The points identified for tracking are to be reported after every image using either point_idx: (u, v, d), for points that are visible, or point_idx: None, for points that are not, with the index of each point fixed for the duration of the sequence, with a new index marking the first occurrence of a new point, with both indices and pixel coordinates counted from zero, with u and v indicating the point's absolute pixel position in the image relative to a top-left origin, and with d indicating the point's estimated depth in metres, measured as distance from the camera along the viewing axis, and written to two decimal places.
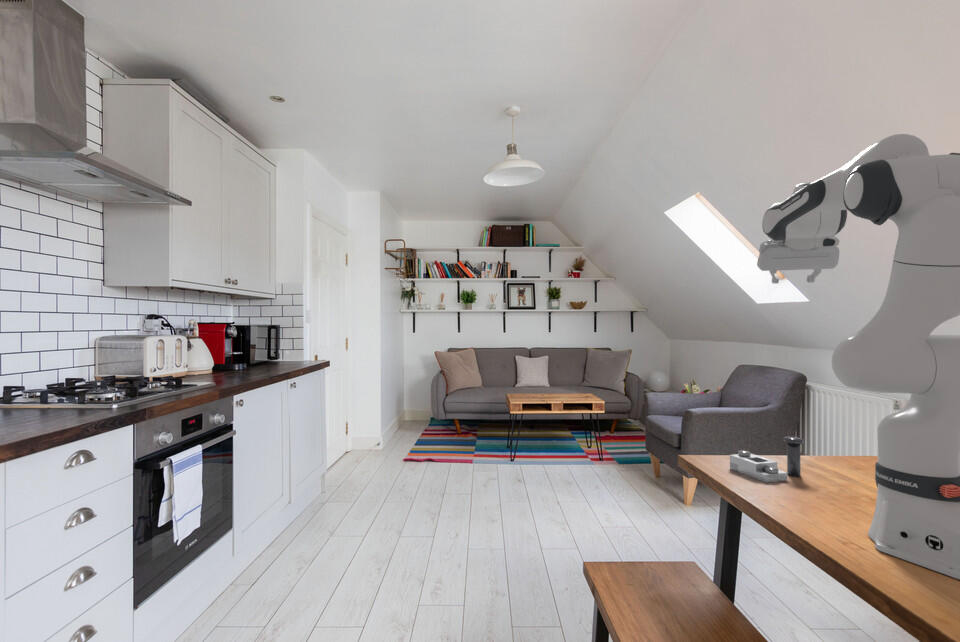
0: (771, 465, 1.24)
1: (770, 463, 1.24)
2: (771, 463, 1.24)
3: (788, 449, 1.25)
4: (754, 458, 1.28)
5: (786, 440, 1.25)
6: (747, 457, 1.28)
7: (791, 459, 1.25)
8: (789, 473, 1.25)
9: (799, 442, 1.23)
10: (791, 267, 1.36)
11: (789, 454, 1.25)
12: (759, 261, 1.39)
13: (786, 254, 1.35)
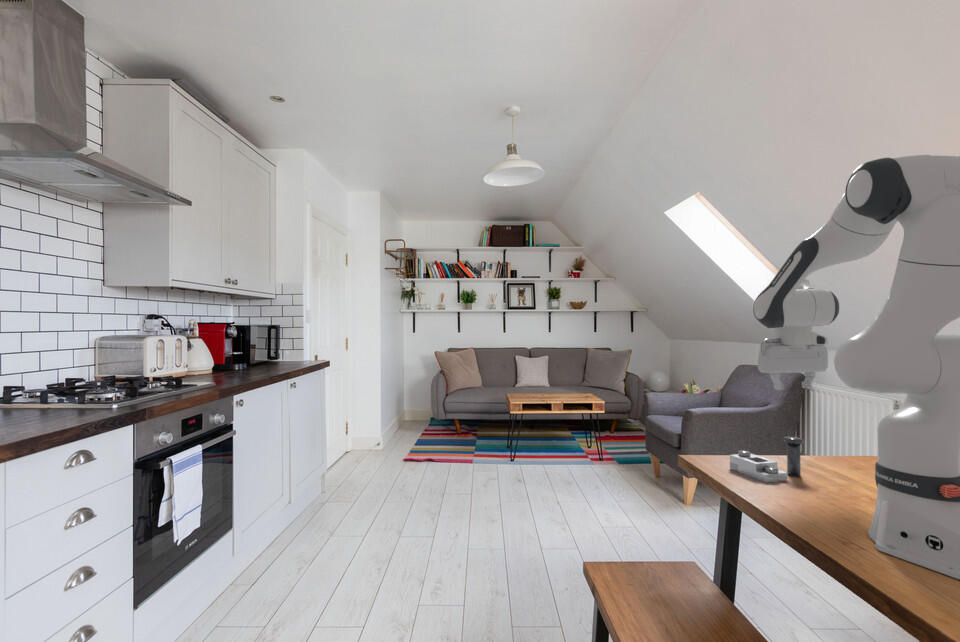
0: (771, 465, 1.24)
1: (770, 463, 1.24)
2: (771, 463, 1.24)
3: (788, 449, 1.25)
4: (754, 458, 1.28)
5: (786, 440, 1.25)
6: (747, 457, 1.28)
7: (791, 459, 1.25)
8: (789, 473, 1.25)
9: (799, 442, 1.23)
10: (793, 368, 1.24)
11: (789, 454, 1.25)
12: (763, 363, 1.24)
13: (787, 354, 1.24)
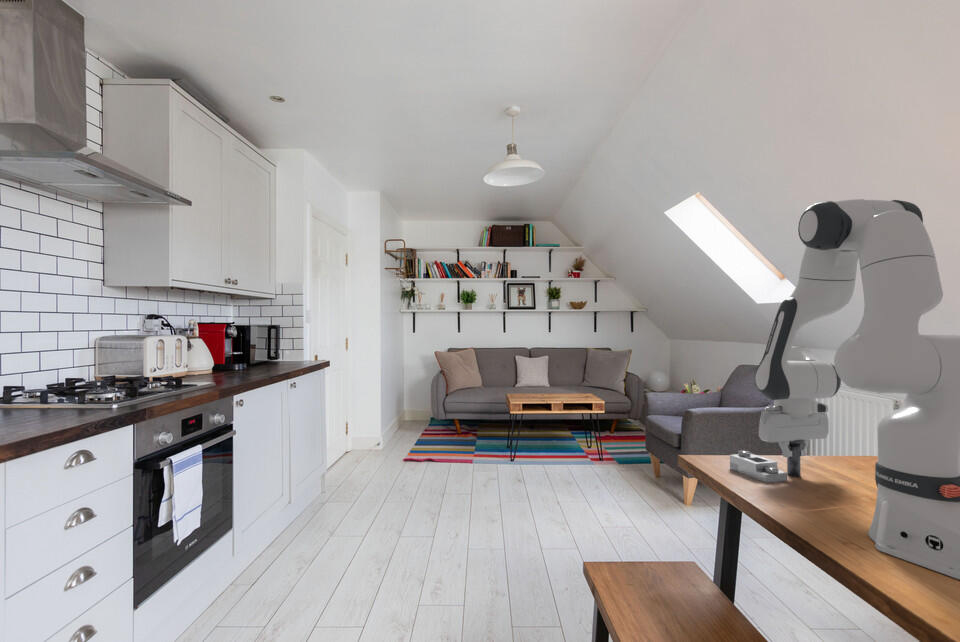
0: (771, 465, 1.24)
1: (770, 463, 1.24)
2: (771, 463, 1.24)
3: None
4: (754, 458, 1.28)
5: None
6: (747, 457, 1.28)
7: (791, 459, 1.25)
8: (789, 473, 1.25)
9: (799, 442, 1.23)
10: (794, 437, 1.23)
11: None
12: (764, 432, 1.23)
13: (788, 423, 1.23)
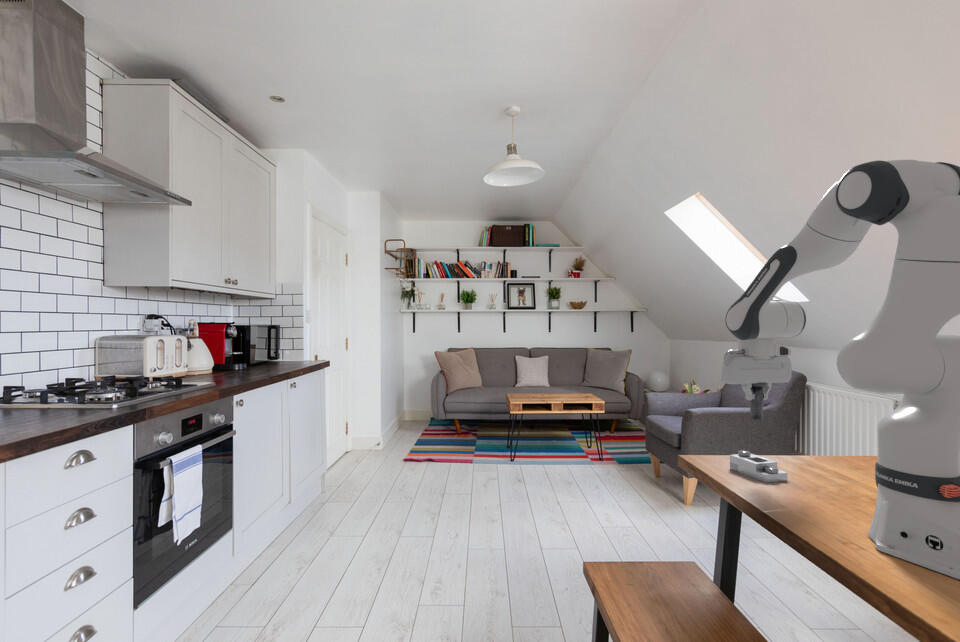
0: (771, 465, 1.24)
1: (770, 463, 1.24)
2: (771, 463, 1.24)
3: None
4: (754, 458, 1.28)
5: None
6: (747, 457, 1.28)
7: (753, 402, 1.26)
8: (752, 416, 1.26)
9: (761, 385, 1.24)
10: (756, 379, 1.24)
11: None
12: (726, 374, 1.24)
13: (750, 365, 1.24)
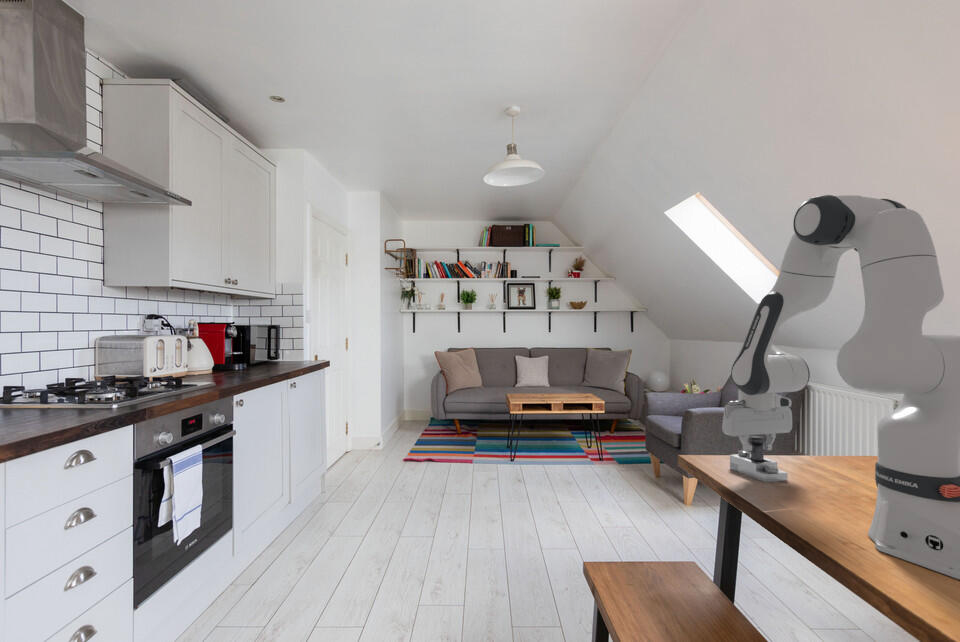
0: (771, 465, 1.24)
1: (770, 463, 1.24)
2: (771, 463, 1.24)
3: None
4: None
5: (749, 439, 1.26)
6: (747, 457, 1.28)
7: (754, 458, 1.25)
8: None
9: (762, 441, 1.24)
10: (757, 431, 1.24)
11: (752, 453, 1.26)
12: (727, 426, 1.24)
13: (751, 417, 1.24)
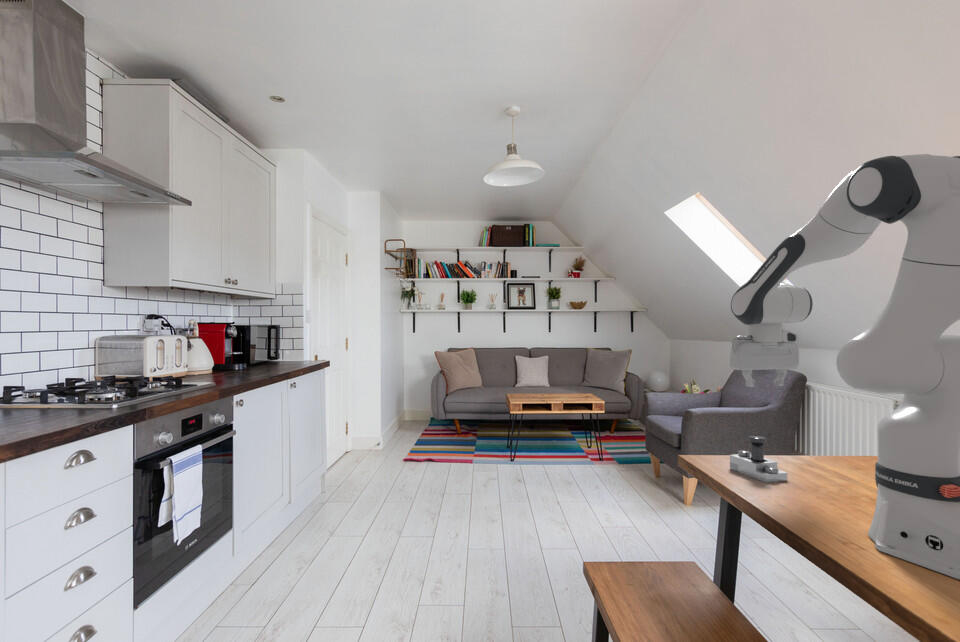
0: (771, 465, 1.24)
1: (770, 463, 1.24)
2: (771, 463, 1.24)
3: (751, 449, 1.26)
4: None
5: (750, 439, 1.26)
6: (747, 457, 1.28)
7: (754, 458, 1.25)
8: None
9: (762, 441, 1.24)
10: (765, 365, 1.24)
11: (753, 453, 1.26)
12: (734, 360, 1.24)
13: (758, 351, 1.24)
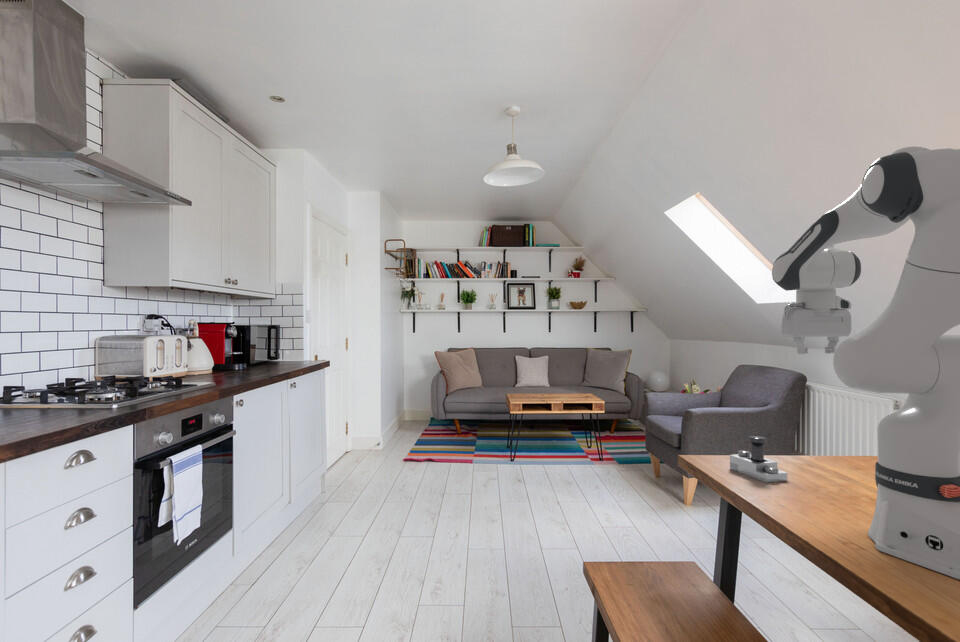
0: (771, 465, 1.24)
1: (770, 463, 1.24)
2: (771, 463, 1.24)
3: (751, 449, 1.26)
4: None
5: (750, 439, 1.26)
6: (747, 457, 1.28)
7: (754, 458, 1.25)
8: None
9: (762, 441, 1.24)
10: (817, 332, 1.23)
11: (753, 453, 1.26)
12: (787, 327, 1.23)
13: (811, 318, 1.23)
